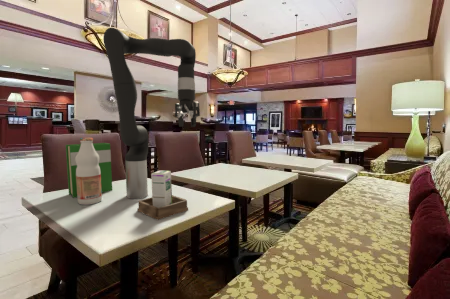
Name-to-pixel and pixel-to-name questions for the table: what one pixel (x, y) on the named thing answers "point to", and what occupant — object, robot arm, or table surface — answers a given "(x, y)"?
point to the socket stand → (162, 208)
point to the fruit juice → (88, 173)
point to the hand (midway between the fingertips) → (187, 126)
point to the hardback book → (104, 165)
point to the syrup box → (161, 188)
